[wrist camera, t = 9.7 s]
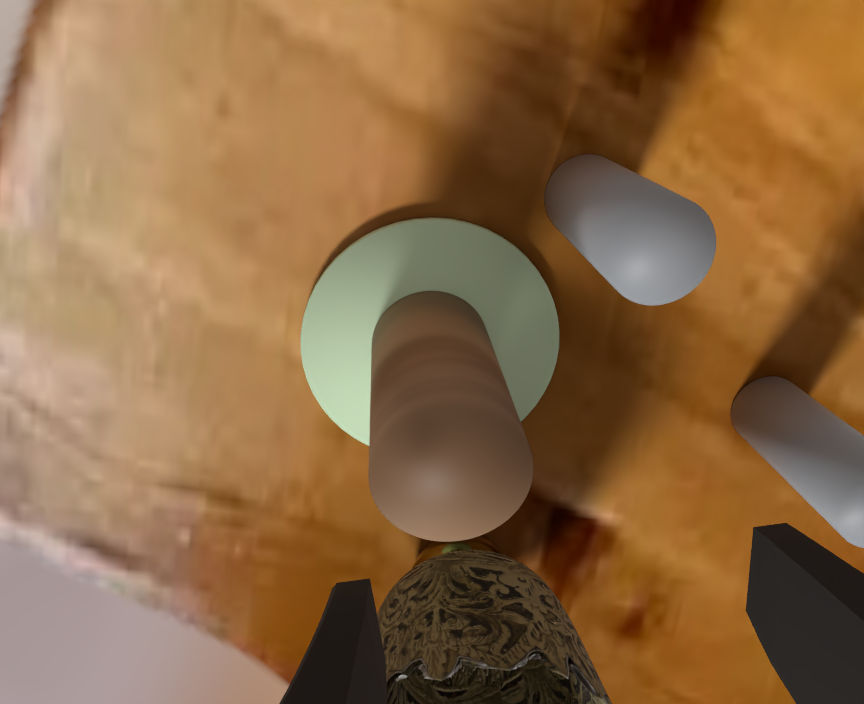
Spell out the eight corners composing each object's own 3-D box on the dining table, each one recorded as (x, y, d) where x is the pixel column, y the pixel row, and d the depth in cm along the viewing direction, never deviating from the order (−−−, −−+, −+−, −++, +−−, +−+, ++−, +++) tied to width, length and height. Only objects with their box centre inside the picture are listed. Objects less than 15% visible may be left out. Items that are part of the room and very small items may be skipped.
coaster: (561, 435, 24) (563, 441, 23) (326, 466, 24) (325, 473, 23) (551, 200, 20) (554, 203, 20) (278, 236, 20) (275, 239, 20)
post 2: (802, 429, 24) (929, 534, 19) (734, 447, 24) (840, 558, 19) (797, 367, 23) (928, 459, 18) (727, 387, 23) (835, 484, 18)
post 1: (626, 230, 21) (714, 297, 15) (546, 242, 21) (606, 312, 15) (624, 148, 20) (718, 188, 14) (542, 160, 20) (603, 204, 14)
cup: (435, 668, 28) (454, 892, 21) (314, 554, 25) (287, 766, 18) (595, 575, 26) (677, 780, 19) (485, 443, 24) (531, 624, 16)
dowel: (492, 389, 22) (537, 530, 16) (380, 404, 22) (381, 551, 16) (482, 283, 21) (528, 391, 14) (363, 299, 21) (355, 414, 14)
